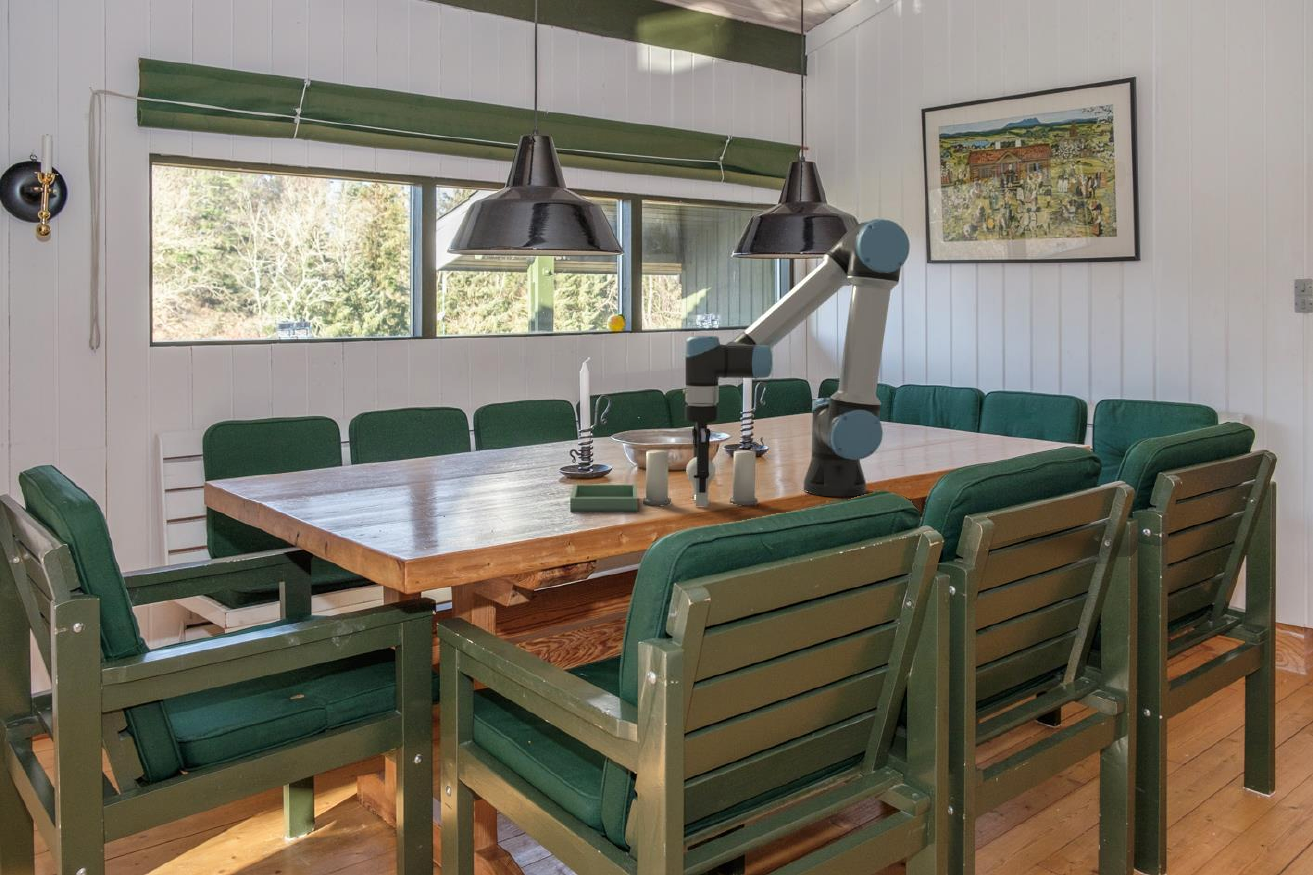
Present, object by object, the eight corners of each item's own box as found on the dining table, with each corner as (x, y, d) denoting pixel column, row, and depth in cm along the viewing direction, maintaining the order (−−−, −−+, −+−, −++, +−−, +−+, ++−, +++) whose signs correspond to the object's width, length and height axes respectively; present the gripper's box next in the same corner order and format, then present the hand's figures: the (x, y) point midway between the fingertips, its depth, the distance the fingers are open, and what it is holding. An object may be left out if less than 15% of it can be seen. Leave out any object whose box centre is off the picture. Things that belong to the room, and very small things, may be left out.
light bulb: (697, 499, 253) (698, 453, 251) (720, 503, 249) (721, 456, 247) (680, 503, 248) (680, 456, 246) (703, 507, 244) (703, 459, 242)
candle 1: (670, 500, 251) (670, 449, 250) (671, 506, 245) (671, 453, 243) (642, 500, 251) (643, 449, 249) (643, 506, 245) (643, 453, 243)
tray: (636, 497, 255) (636, 484, 255) (637, 511, 238) (637, 498, 238) (573, 497, 255) (573, 484, 254) (570, 511, 238) (570, 498, 238)
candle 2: (755, 500, 252) (756, 450, 250) (759, 506, 245) (760, 454, 244) (728, 500, 252) (729, 449, 250) (731, 506, 245) (732, 454, 244)
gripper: (682, 399, 255) (681, 493, 258) (687, 409, 235) (686, 511, 238) (714, 399, 255) (712, 494, 259) (722, 409, 235) (720, 511, 238)
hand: (700, 502), depth 248 cm, fingers open, 8 cm apart
